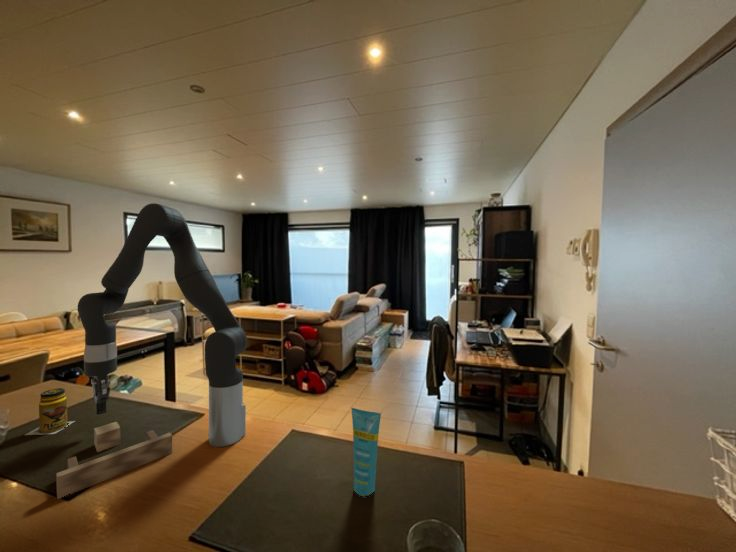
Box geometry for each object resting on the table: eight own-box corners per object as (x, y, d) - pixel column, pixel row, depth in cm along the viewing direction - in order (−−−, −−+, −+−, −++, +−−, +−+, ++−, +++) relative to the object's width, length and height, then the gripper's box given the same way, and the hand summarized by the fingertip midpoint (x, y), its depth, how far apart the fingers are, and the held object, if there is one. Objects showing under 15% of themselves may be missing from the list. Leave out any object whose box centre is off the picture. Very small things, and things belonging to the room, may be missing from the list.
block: (116, 437, 89) (116, 421, 89) (120, 444, 86) (120, 427, 86) (94, 445, 85) (94, 428, 85) (97, 452, 82) (97, 434, 82)
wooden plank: (162, 440, 88) (162, 423, 88) (172, 452, 82) (172, 435, 82) (54, 480, 71) (54, 459, 71) (57, 499, 65) (57, 477, 65)
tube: (346, 493, 68) (347, 411, 68) (353, 479, 73) (354, 402, 72) (377, 501, 66) (378, 417, 66) (382, 486, 71) (384, 407, 70)
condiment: (55, 434, 90) (54, 395, 90) (23, 435, 89) (22, 396, 89) (75, 421, 98) (75, 385, 97) (46, 423, 96) (45, 386, 96)
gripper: (121, 359, 89) (121, 416, 90) (112, 350, 98) (112, 402, 98) (87, 365, 83) (87, 425, 84) (81, 355, 92) (81, 410, 93)
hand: (100, 412), depth 91 cm, fingers closed
